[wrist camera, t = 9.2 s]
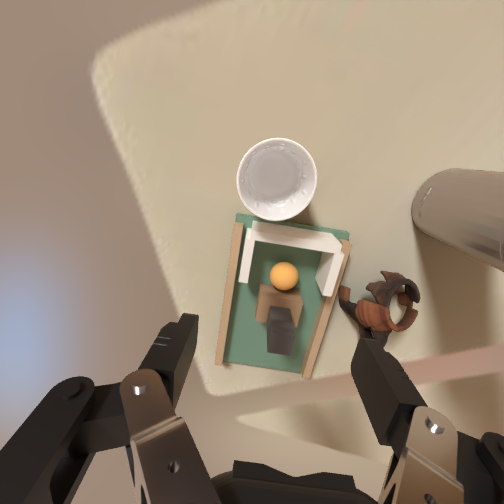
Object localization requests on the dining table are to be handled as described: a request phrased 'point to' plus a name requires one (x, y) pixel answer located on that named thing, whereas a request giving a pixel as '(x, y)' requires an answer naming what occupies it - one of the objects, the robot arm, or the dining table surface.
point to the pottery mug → (381, 307)
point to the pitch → (258, 271)
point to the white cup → (276, 179)
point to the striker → (278, 316)
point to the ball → (284, 276)
